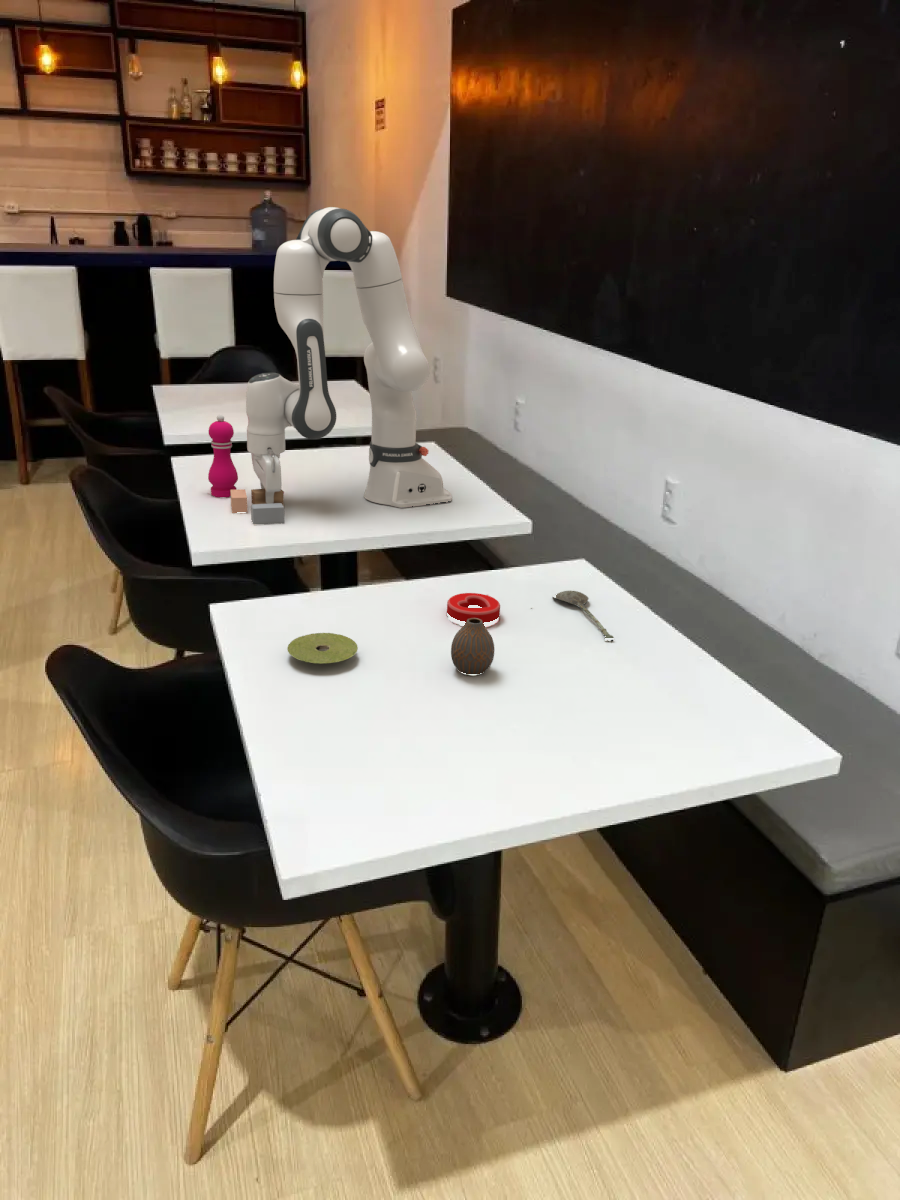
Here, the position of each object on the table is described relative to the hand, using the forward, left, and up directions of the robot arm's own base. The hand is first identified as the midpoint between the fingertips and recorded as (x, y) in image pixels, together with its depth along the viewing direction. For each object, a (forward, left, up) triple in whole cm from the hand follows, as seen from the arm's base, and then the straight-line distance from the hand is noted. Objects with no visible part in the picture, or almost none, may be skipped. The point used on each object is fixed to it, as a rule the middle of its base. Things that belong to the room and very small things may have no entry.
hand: (267, 499), depth 222 cm
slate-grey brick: (+2, +12, -2) cm, 12 cm away
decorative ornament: (-25, +74, -2) cm, 78 cm away
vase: (-17, +94, -2) cm, 96 cm away
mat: (+5, +84, -2) cm, 84 cm away
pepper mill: (+9, -12, -2) cm, 15 cm away
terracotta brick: (+7, +1, -2) cm, 7 cm away
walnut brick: (0, 0, -2) cm, 2 cm away
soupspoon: (-45, +79, -2) cm, 91 cm away
